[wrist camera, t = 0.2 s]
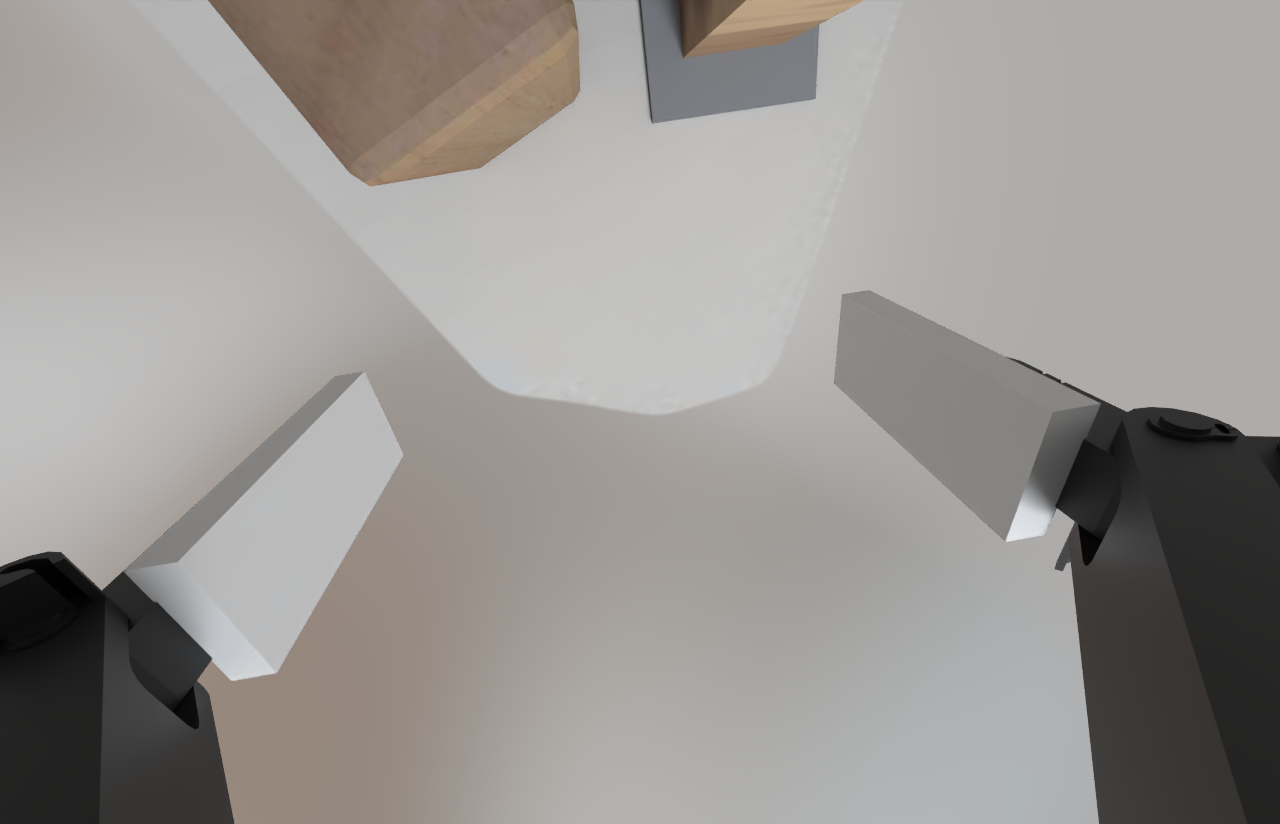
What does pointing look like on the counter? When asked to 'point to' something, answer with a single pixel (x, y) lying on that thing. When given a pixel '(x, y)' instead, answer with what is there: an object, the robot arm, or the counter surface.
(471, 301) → the counter surface
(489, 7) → the block
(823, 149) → the counter surface
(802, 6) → the tower top
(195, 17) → the counter surface
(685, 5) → the block
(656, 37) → the mat
